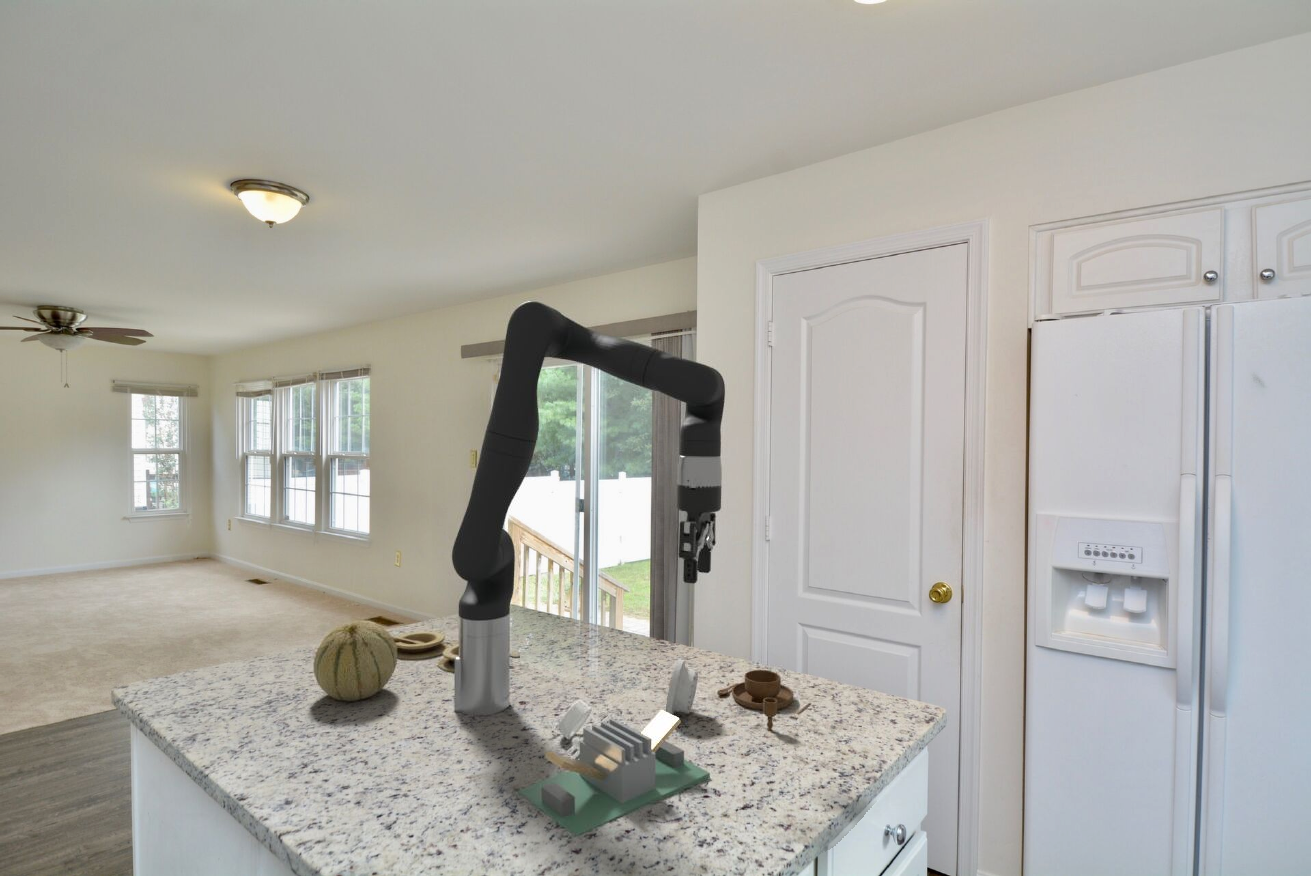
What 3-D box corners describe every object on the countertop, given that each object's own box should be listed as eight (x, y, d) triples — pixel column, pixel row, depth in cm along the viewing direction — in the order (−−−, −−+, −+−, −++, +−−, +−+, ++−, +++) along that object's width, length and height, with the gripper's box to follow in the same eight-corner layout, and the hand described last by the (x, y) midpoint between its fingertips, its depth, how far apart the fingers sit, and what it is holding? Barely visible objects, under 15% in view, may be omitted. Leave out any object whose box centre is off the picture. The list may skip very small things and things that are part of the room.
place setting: (817, 700, 134) (817, 670, 134) (777, 739, 117) (777, 705, 117) (736, 682, 144) (736, 654, 143) (688, 715, 127) (688, 684, 127)
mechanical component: (671, 701, 131) (680, 651, 130) (693, 707, 130) (703, 657, 129) (660, 724, 121) (670, 669, 121) (685, 730, 120) (695, 675, 120)
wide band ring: (575, 702, 125) (592, 675, 123) (617, 740, 122) (635, 712, 120) (519, 745, 108) (539, 713, 107) (567, 789, 105) (587, 758, 104)
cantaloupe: (388, 678, 143) (388, 606, 142) (405, 702, 130) (405, 623, 130) (308, 693, 134) (308, 616, 134) (319, 720, 122) (319, 636, 122)
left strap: (561, 768, 90) (564, 761, 91) (545, 756, 93) (547, 750, 94) (603, 780, 95) (605, 774, 95) (586, 769, 98) (588, 763, 98)
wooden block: (646, 762, 100) (644, 758, 100) (628, 752, 103) (626, 748, 103) (680, 722, 105) (679, 718, 104) (663, 713, 108) (661, 709, 107)
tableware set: (522, 658, 158) (522, 632, 158) (458, 686, 141) (458, 657, 141) (430, 637, 173) (430, 614, 172) (363, 660, 155) (363, 634, 155)
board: (575, 847, 86) (575, 780, 86) (518, 801, 96) (518, 741, 96) (709, 782, 102) (710, 725, 102) (647, 748, 112) (648, 697, 112)
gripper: (690, 478, 125) (688, 567, 125) (665, 484, 112) (663, 584, 112) (730, 480, 122) (728, 571, 123) (710, 487, 109) (707, 588, 109)
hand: (697, 577), depth 117 cm, fingers open, 8 cm apart
